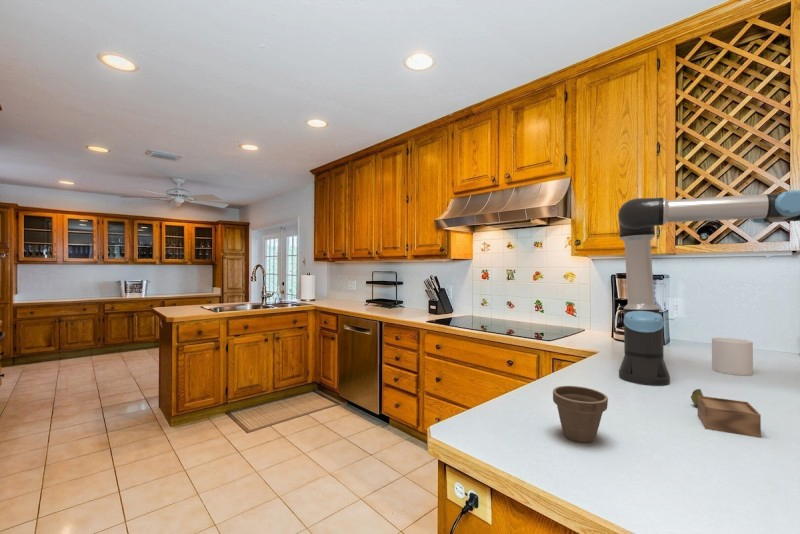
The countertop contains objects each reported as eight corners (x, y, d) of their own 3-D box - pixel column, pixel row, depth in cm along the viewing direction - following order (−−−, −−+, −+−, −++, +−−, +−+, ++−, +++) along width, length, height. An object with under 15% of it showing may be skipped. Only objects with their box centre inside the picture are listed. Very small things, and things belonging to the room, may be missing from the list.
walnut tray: (705, 430, 92) (705, 407, 92) (697, 416, 101) (697, 395, 101) (760, 439, 87) (760, 414, 87) (747, 424, 96) (747, 401, 96)
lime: (701, 404, 109) (701, 386, 109) (716, 410, 104) (715, 392, 104) (686, 404, 109) (686, 386, 109) (700, 410, 104) (699, 392, 104)
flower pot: (616, 451, 80) (616, 403, 80) (559, 446, 82) (559, 399, 82) (598, 428, 92) (597, 386, 92) (548, 425, 94) (548, 384, 94)
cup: (746, 377, 137) (746, 344, 137) (707, 370, 147) (706, 339, 147) (757, 373, 143) (757, 341, 143) (718, 366, 153) (718, 336, 153)
